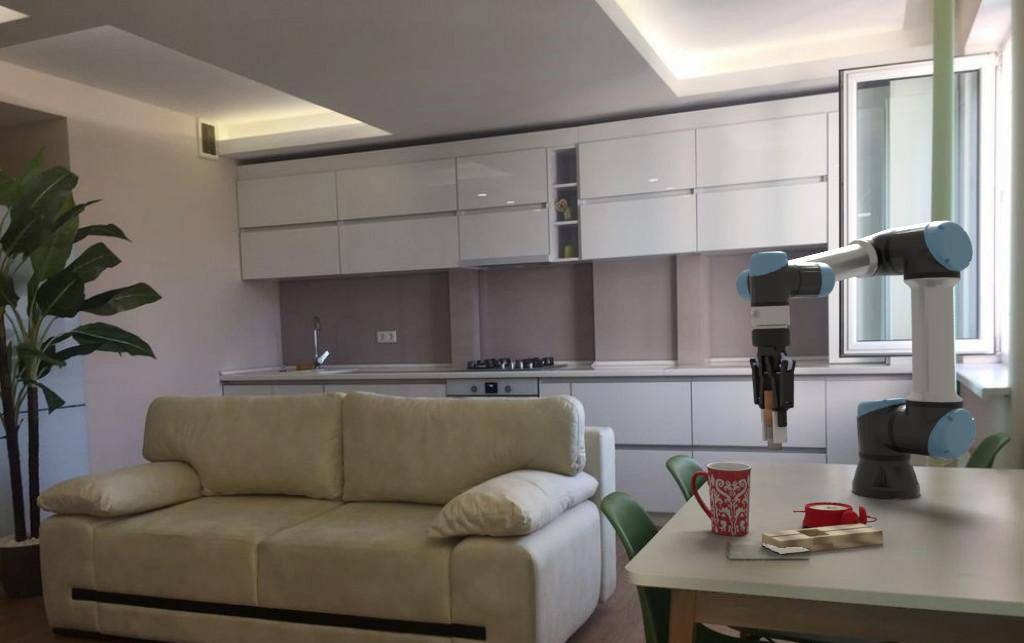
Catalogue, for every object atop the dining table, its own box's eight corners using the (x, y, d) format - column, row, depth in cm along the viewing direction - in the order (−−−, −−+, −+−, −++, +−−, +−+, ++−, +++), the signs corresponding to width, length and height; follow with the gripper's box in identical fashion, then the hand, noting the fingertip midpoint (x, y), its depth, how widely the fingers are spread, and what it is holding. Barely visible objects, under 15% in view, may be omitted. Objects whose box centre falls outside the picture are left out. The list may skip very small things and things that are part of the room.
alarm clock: (809, 501, 168) (878, 491, 158) (817, 530, 166) (887, 522, 156) (787, 509, 161) (857, 498, 150) (795, 539, 159) (867, 531, 149)
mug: (760, 529, 160) (758, 464, 160) (744, 539, 152) (741, 471, 153) (702, 521, 167) (700, 459, 167) (684, 530, 160) (682, 465, 160)
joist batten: (861, 535, 153) (861, 522, 153) (883, 543, 147) (882, 530, 147) (762, 546, 147) (761, 532, 147) (780, 554, 142) (779, 540, 142)
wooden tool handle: (777, 447, 161) (775, 389, 161) (787, 449, 157) (785, 390, 157) (762, 448, 160) (760, 390, 160) (772, 451, 156) (770, 391, 157)
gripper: (733, 328, 166) (737, 437, 166) (777, 327, 150) (781, 448, 150) (764, 327, 168) (768, 435, 167) (811, 326, 152) (815, 445, 151)
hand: (774, 441), depth 159 cm, fingers closed on wooden tool handle, 3 cm apart
